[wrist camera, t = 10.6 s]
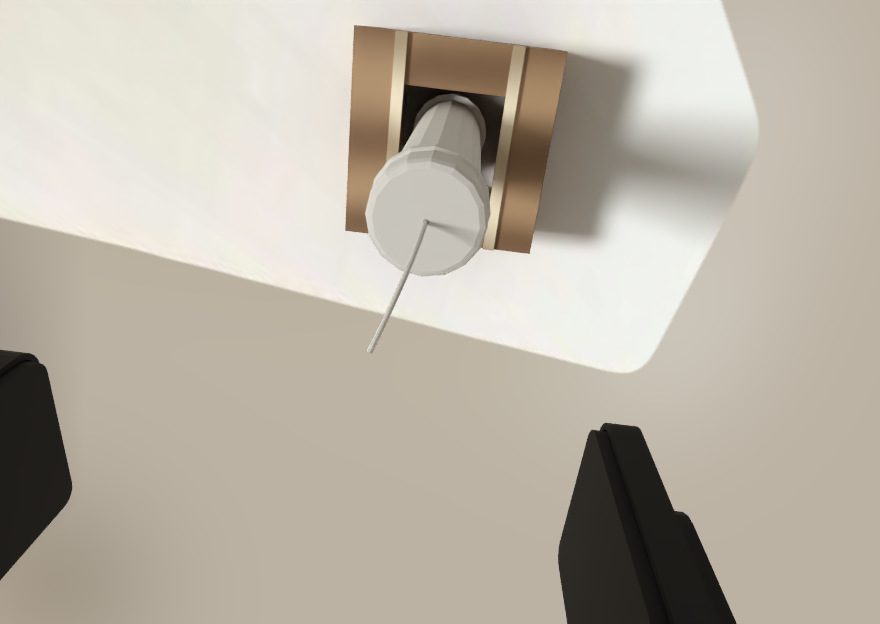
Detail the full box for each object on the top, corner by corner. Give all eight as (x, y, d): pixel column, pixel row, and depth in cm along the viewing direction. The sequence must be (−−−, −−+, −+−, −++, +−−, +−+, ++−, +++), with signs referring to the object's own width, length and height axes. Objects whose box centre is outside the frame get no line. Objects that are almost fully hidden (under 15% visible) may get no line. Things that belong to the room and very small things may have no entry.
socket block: (369, 26, 44) (353, 25, 38) (556, 49, 43) (568, 51, 38) (359, 209, 50) (344, 231, 44) (523, 229, 49) (529, 255, 44)
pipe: (498, 112, 45) (526, 245, 19) (460, 182, 48) (436, 386, 21) (436, 76, 45) (370, 161, 18) (400, 150, 47) (296, 320, 20)
